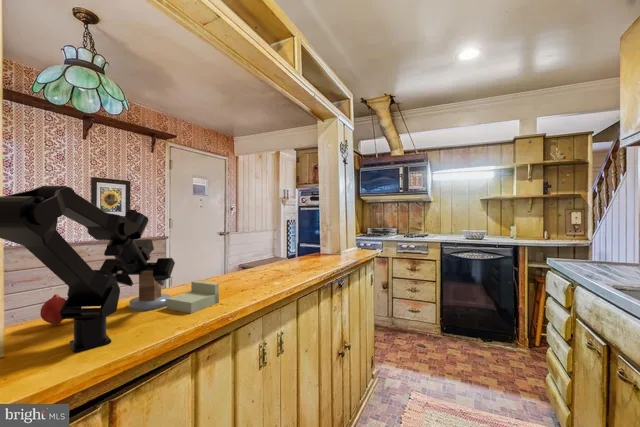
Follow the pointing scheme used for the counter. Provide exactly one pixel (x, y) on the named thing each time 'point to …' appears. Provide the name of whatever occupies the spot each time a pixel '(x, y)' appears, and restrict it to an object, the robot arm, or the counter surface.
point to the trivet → (148, 303)
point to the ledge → (195, 297)
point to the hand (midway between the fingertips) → (147, 284)
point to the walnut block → (148, 287)
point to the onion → (52, 310)
